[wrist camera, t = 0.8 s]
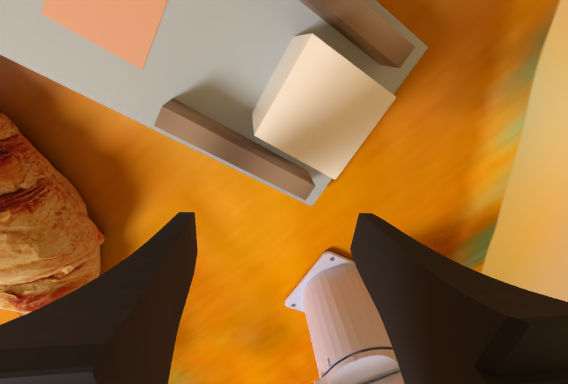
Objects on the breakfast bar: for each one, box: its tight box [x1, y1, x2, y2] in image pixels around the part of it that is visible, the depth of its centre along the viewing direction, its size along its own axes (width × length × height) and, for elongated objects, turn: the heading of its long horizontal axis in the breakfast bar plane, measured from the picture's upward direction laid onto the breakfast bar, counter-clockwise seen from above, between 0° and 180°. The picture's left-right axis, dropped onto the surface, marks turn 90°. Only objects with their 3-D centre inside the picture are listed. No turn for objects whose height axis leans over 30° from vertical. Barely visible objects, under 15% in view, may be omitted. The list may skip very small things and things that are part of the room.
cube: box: [252, 33, 396, 180], centre depth 15 cm, size 5×5×5 cm
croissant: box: [0, 112, 105, 316], centre depth 19 cm, size 21×10×8 cm, turn 0°
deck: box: [0, 0, 428, 207], centre depth 15 cm, size 28×13×2 cm, turn 58°
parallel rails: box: [154, 0, 415, 200], centre depth 16 cm, size 10×11×2 cm
